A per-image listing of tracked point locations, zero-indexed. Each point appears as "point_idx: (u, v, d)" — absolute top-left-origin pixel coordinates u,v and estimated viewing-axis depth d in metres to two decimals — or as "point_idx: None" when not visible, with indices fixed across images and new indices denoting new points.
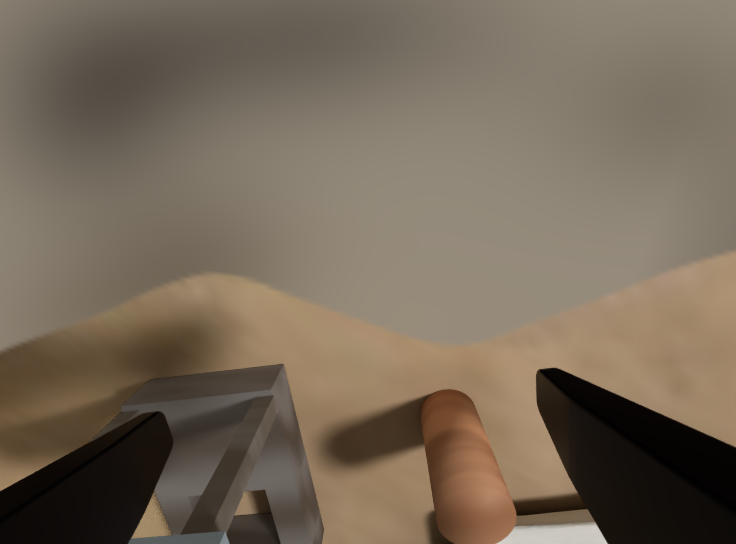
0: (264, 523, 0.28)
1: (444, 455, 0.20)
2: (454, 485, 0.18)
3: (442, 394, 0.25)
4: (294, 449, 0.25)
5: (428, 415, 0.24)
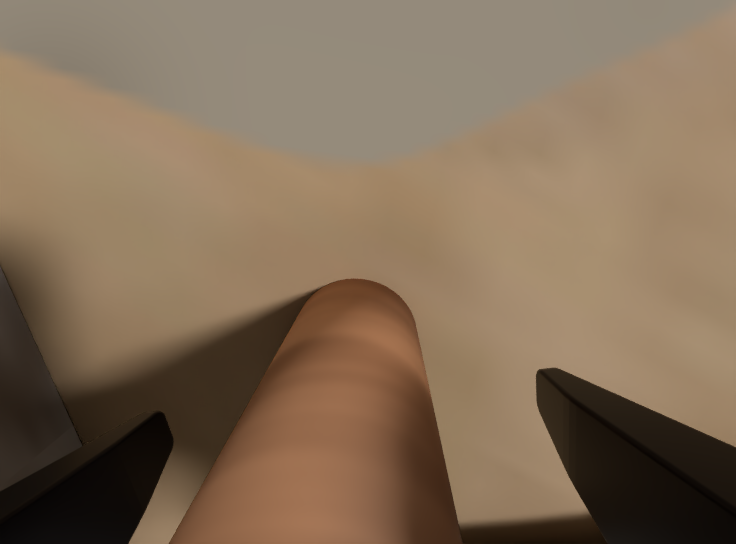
0: None
1: (257, 402, 0.06)
2: (208, 509, 0.04)
3: (335, 285, 0.11)
4: (0, 412, 0.11)
5: (292, 326, 0.10)
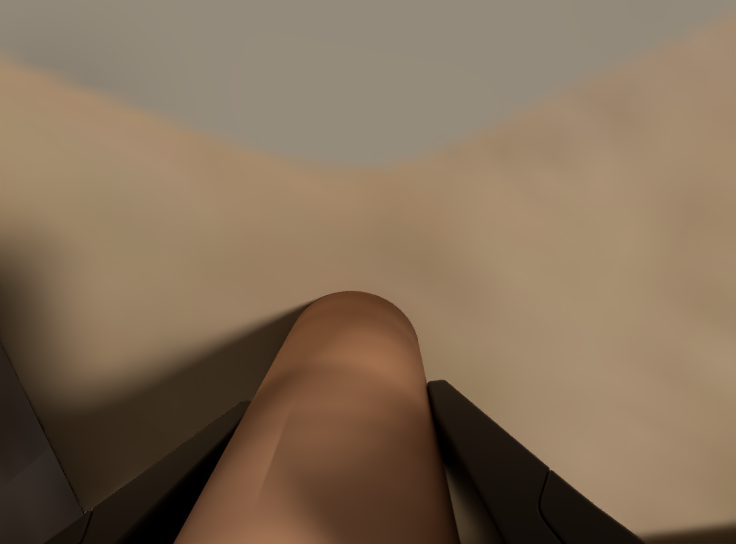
0: None
1: (236, 449, 0.05)
2: None
3: (331, 299, 0.10)
4: None
5: (283, 345, 0.09)
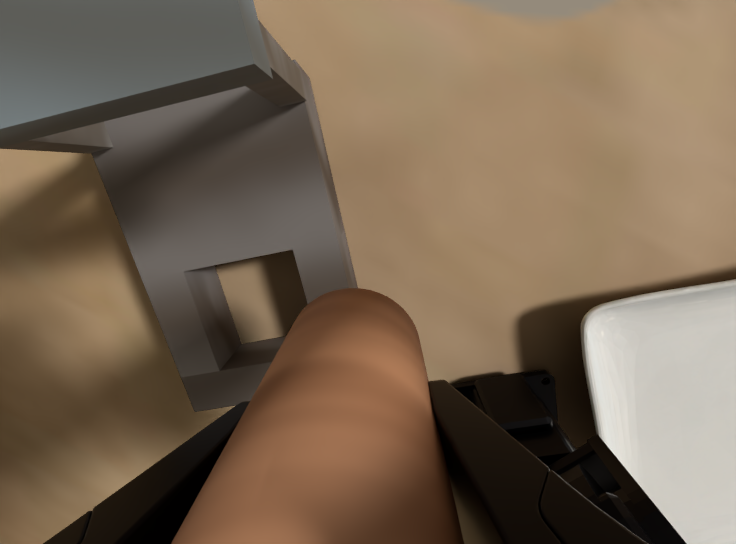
0: None
1: (237, 444, 0.05)
2: None
3: (332, 296, 0.10)
4: (331, 196, 0.17)
5: (283, 342, 0.09)
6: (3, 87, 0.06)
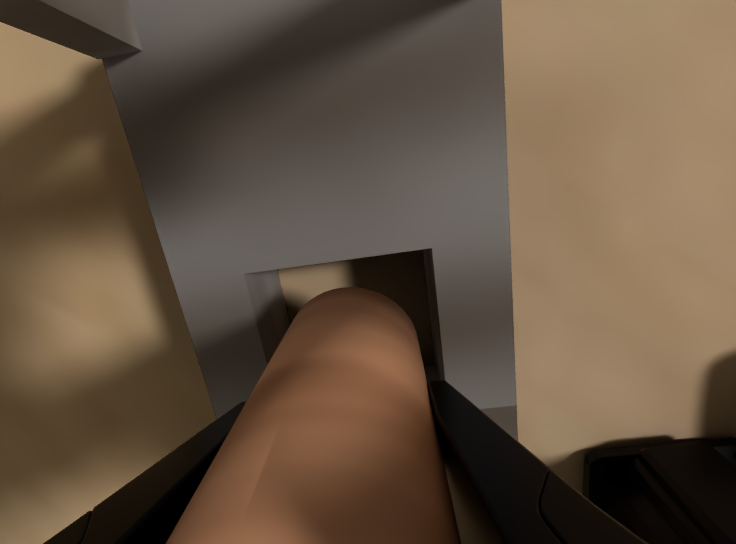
0: None
1: (233, 443, 0.05)
2: None
3: (330, 295, 0.10)
4: None
5: (281, 341, 0.09)
6: None
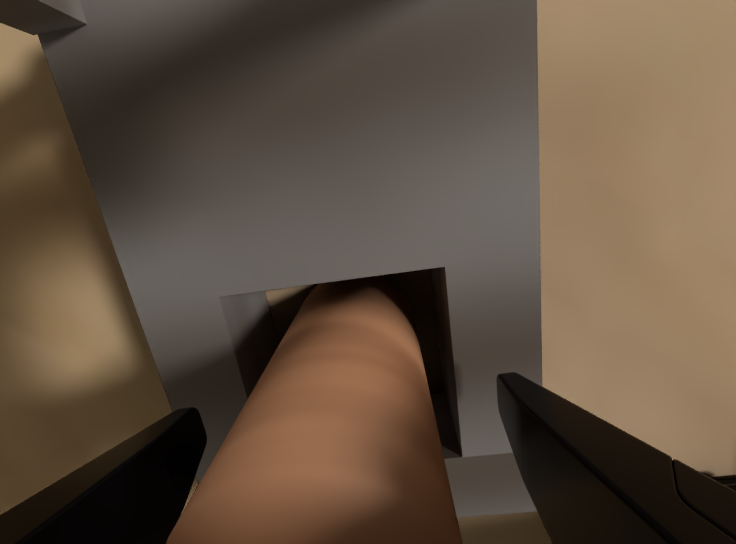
0: None
1: (266, 380, 0.07)
2: (227, 465, 0.05)
3: None
4: None
5: (295, 316, 0.10)
6: None
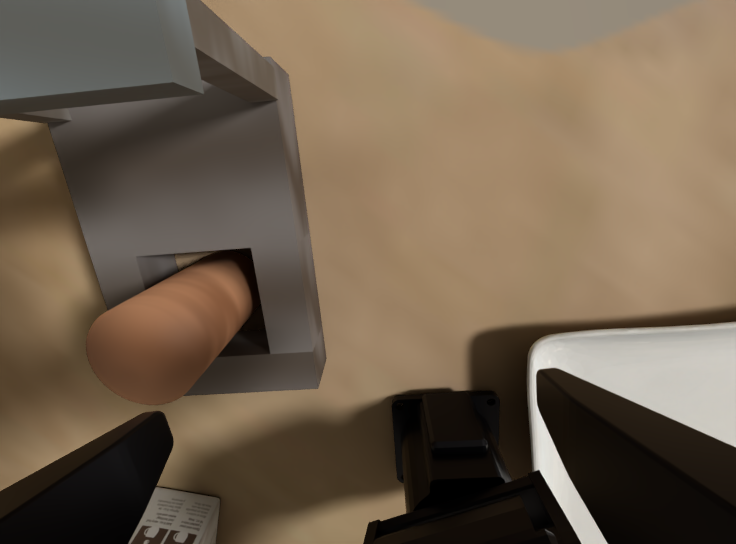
0: (246, 337, 0.20)
1: None
2: (112, 308, 0.13)
3: (215, 253, 0.19)
4: (297, 198, 0.17)
5: None
6: None
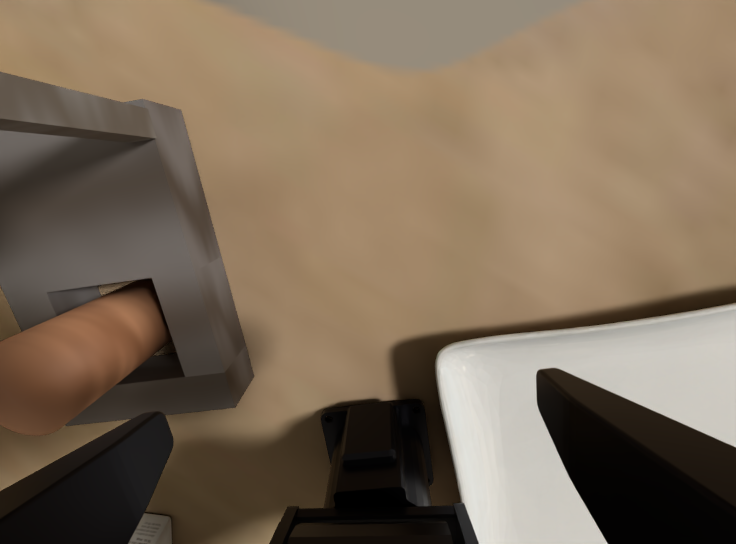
0: (171, 360, 0.21)
1: None
2: None
3: (133, 282, 0.20)
4: (195, 227, 0.18)
5: None
6: None
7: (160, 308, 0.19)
